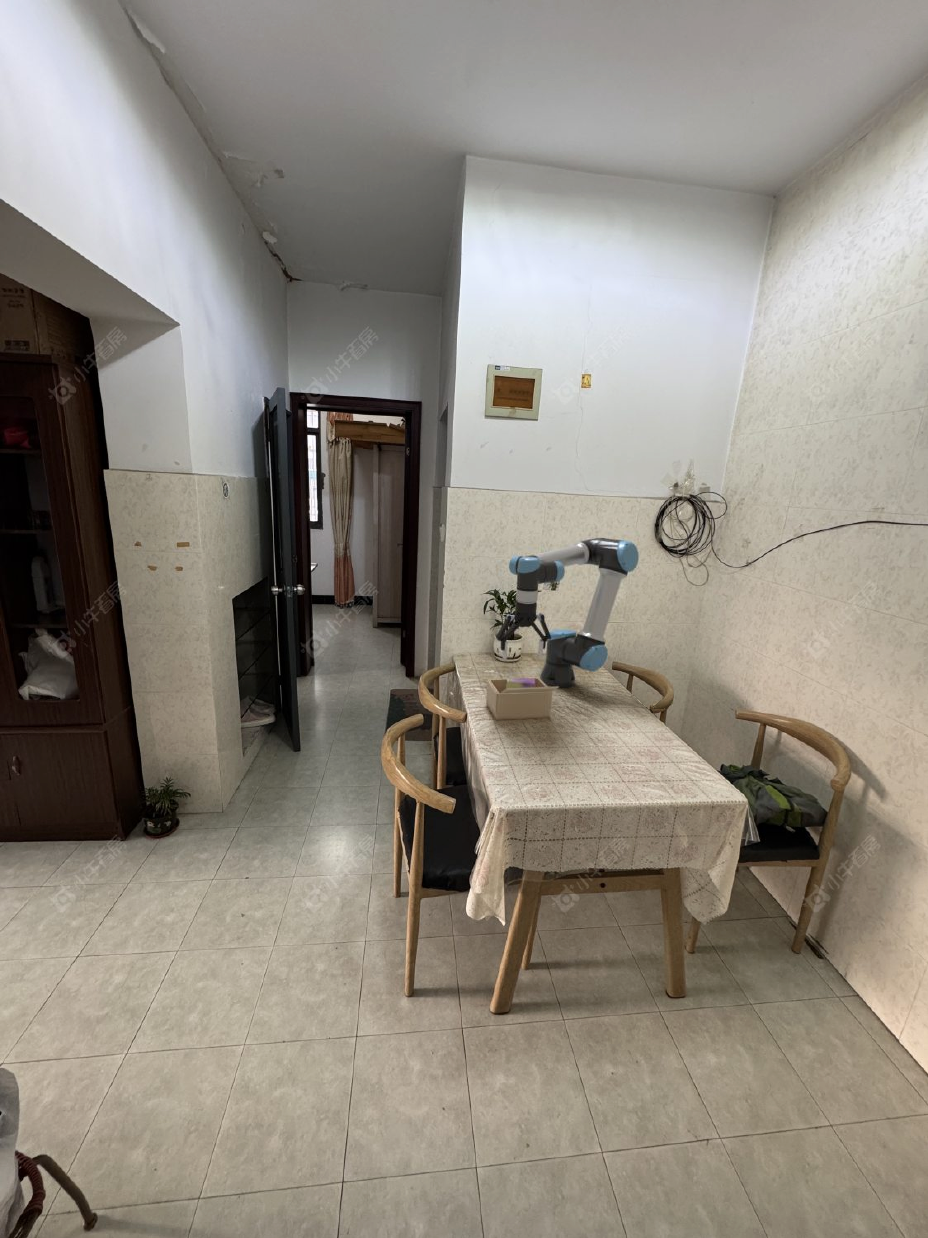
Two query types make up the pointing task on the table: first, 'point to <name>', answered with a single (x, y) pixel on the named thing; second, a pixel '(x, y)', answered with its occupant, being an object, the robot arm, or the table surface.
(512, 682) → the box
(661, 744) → the table surface
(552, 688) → the flap
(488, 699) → the carton
